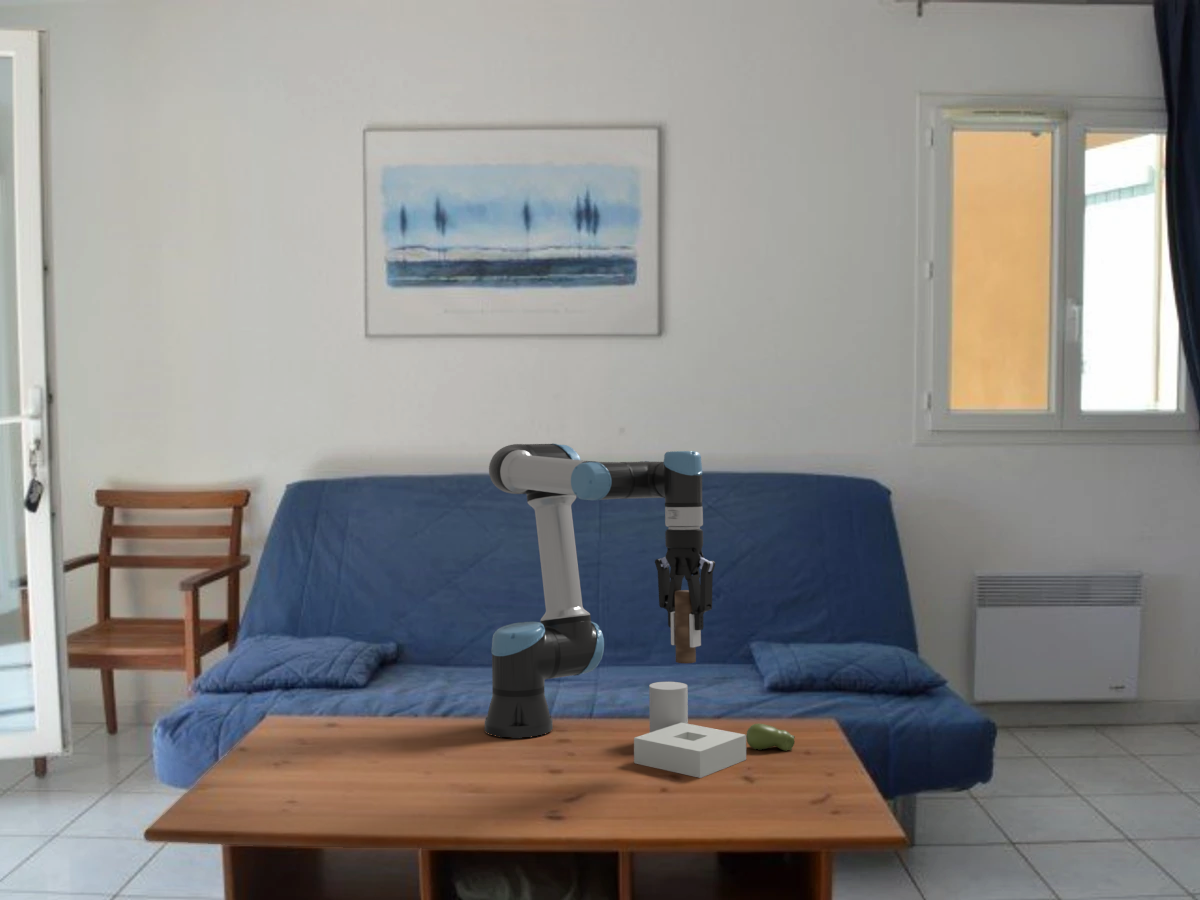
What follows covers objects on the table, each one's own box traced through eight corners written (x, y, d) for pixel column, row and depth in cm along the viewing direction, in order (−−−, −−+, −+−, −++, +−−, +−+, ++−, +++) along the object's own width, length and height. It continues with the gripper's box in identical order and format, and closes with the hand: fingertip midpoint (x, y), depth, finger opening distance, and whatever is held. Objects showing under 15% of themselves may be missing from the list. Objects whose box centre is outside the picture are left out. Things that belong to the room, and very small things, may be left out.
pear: (746, 719, 230) (793, 726, 230) (742, 743, 230) (789, 751, 230) (750, 725, 224) (798, 733, 224) (746, 750, 224) (794, 758, 224)
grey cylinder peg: (688, 737, 237) (687, 682, 237) (687, 747, 229) (687, 690, 229) (650, 736, 237) (650, 681, 237) (648, 746, 229) (648, 689, 229)
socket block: (634, 763, 217) (633, 737, 217) (681, 746, 229) (681, 722, 229) (700, 778, 207) (700, 751, 207) (746, 759, 219) (746, 734, 219)
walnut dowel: (671, 661, 218) (670, 591, 218) (683, 659, 221) (682, 589, 221) (687, 664, 215) (686, 592, 215) (699, 661, 218) (698, 591, 218)
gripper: (639, 527, 221) (640, 643, 221) (708, 530, 210) (710, 652, 210) (661, 526, 227) (663, 639, 226) (730, 528, 216) (732, 646, 215)
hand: (685, 645), depth 218 cm, fingers closed on walnut dowel, 4 cm apart
